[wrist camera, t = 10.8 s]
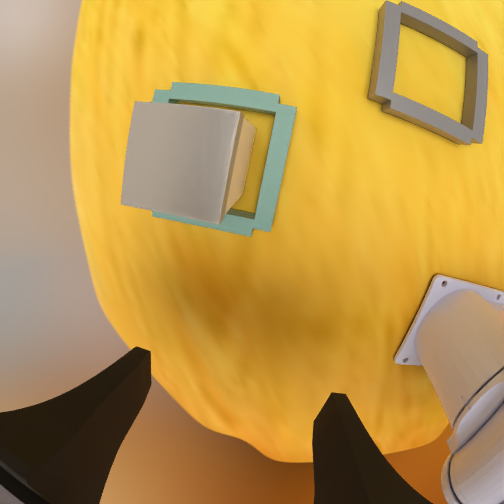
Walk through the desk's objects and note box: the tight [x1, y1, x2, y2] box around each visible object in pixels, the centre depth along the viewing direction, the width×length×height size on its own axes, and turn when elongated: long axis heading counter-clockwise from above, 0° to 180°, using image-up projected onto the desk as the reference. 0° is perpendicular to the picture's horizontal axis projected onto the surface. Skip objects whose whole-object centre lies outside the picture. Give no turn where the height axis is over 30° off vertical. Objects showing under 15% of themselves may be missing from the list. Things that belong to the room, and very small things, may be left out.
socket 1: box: [152, 82, 297, 237], centre depth 15 cm, size 8×8×2 cm
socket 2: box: [368, 1, 488, 145], centre depth 12 cm, size 8×8×2 cm
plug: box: [121, 102, 257, 225], centre depth 13 cm, size 4×4×7 cm
